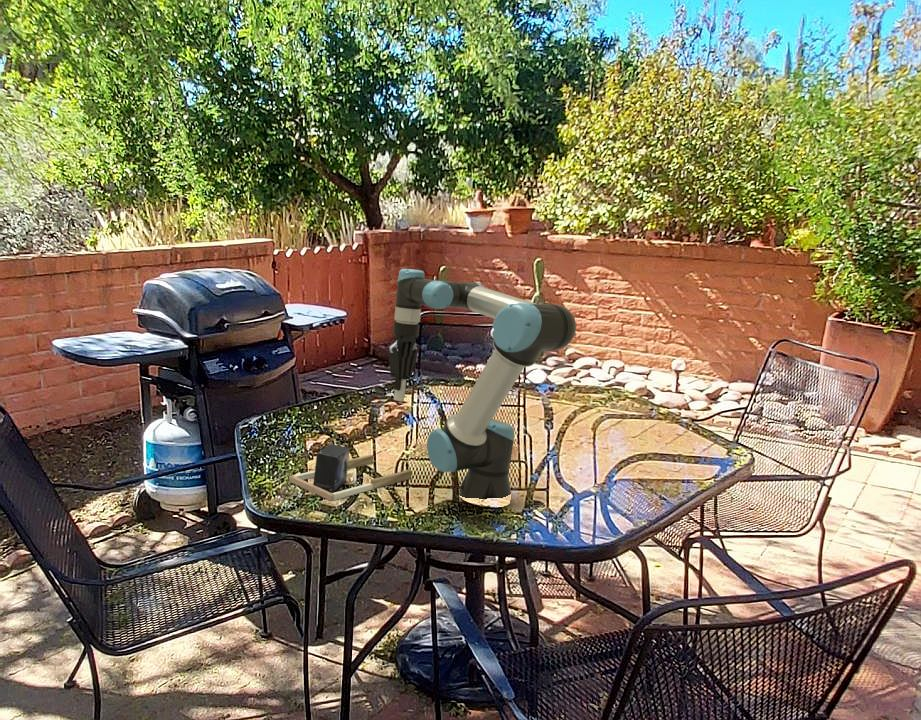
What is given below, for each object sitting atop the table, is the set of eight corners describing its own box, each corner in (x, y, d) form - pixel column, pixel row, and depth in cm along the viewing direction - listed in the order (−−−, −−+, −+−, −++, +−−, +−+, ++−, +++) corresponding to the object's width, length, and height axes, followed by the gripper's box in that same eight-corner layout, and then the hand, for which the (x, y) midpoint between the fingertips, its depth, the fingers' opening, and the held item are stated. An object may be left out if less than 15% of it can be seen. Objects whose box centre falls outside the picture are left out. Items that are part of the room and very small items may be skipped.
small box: (334, 493, 204) (337, 457, 202) (311, 489, 205) (315, 452, 203) (347, 481, 214) (351, 446, 212) (326, 477, 215) (329, 443, 214)
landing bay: (372, 489, 211) (373, 484, 210) (330, 500, 198) (331, 495, 198) (330, 471, 221) (331, 466, 221) (289, 481, 209) (289, 476, 208)
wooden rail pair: (411, 478, 223) (411, 470, 223) (373, 489, 211) (374, 480, 210) (370, 462, 234) (370, 454, 233) (331, 471, 221) (332, 463, 221)
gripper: (410, 319, 226) (402, 395, 229) (382, 320, 215) (374, 400, 219) (430, 323, 222) (422, 400, 225) (402, 324, 211) (394, 405, 215)
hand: (398, 400), depth 222 cm, fingers closed
